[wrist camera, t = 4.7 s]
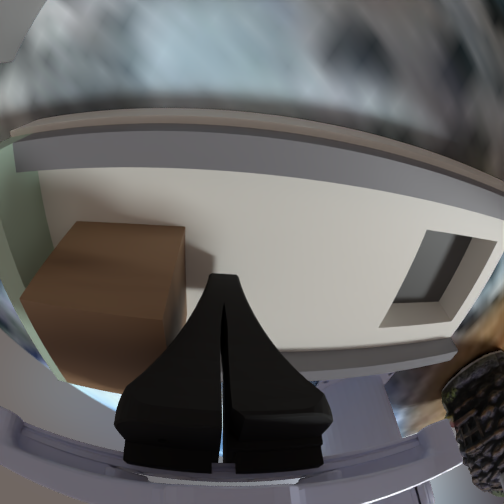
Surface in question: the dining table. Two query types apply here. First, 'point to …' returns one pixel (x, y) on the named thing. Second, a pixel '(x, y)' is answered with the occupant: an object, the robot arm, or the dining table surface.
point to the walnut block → (109, 300)
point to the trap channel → (270, 224)
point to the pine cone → (479, 419)
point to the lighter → (16, 25)
